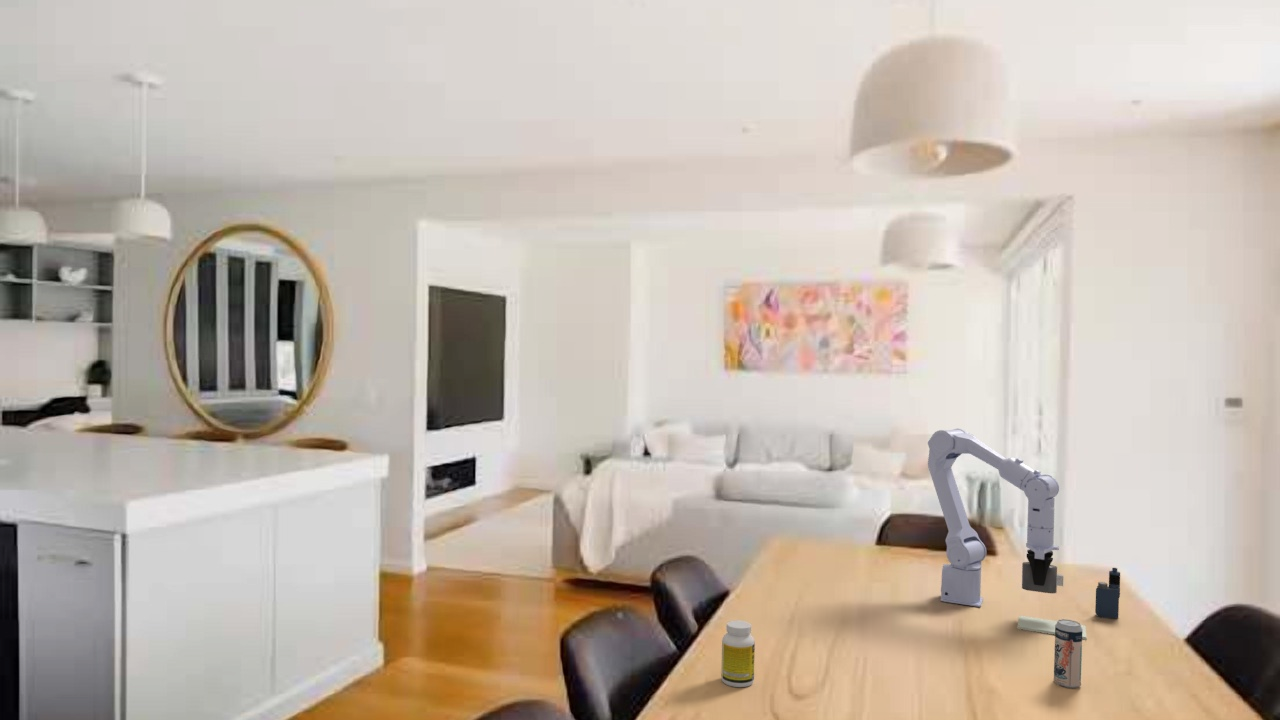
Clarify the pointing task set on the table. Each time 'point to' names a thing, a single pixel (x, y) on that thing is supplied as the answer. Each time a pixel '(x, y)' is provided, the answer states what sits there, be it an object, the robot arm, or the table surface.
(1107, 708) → the table surface
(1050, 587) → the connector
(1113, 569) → the vaping device
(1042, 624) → the board
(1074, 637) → the beer can
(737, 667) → the pill bottle
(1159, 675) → the table surface
